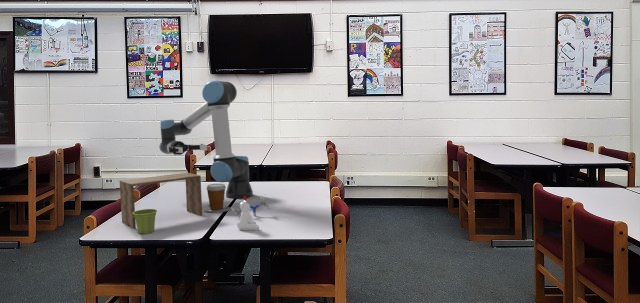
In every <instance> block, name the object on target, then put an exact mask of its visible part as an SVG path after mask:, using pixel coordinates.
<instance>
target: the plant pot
mask: <svg viewBox="0 0 640 303" xmlns="http://www.w3.org/2000/svg"><path fill="white" fill-rule="evenodd" d="M157 212H158V210H157V209H154V208H144V209H139V210H135V212H133V214H134V217H135V222H136V229H137V233H138V234H143V235H146V234H151V233H153V232H155V226H156V222H155V221H156V216H157V215H156V214H157Z"/></svg>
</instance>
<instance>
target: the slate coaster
mask: <svg viewBox="0 0 640 303" xmlns="http://www.w3.org/2000/svg"><path fill="white" fill-rule="evenodd" d="M231 208H232V206H227V205H224V206H223V209H221V210H211V209H210V206H208V207H205V208H202V213H203V212H204V213H209V214H210V213H211V214H214V213H215V214H217V213H224V212H229V211H232V210H231Z"/></svg>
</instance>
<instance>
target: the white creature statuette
mask: <svg viewBox="0 0 640 303" xmlns="http://www.w3.org/2000/svg"><path fill="white" fill-rule="evenodd" d="M249 205H251V204H250V203H248V200H247V201H245V200H244V199H243V201H241V202H240V203H239V209H241V210H242V211H241V212H240V214H241V216H240V219H239V218H238V221H237V223H236V226H237V228H238V230H240V231H260V226H259V225H258V224H257V222H256V221H255V220H254V219H252V214H251V210H252V208H250V206H249Z"/></svg>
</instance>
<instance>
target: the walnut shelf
mask: <svg viewBox="0 0 640 303" xmlns="http://www.w3.org/2000/svg"><path fill="white" fill-rule="evenodd" d="M201 179H202V177H201V175H199V174H195V173H192V172H191V173H190V172H183V173H174V174H163V175H157V176H147V177H139V178H132V179H130V178H129V179H123V180H119V192H120V193H119V194H120V210H121V223H122V222H123V223H122V224H124V223H125V224H124V225H126V224H127V225H126V226H128V225H129V226H128V227H130V228H132V229H137V224H136V219H135V217H134V214H133V212H135V211H136V207H135V190H134V187H136V186H146V185H152V184H161V183H168V182H177V181H178V182H179V181H185V195H186V196H185V197H186V212H188V213H192V214H194V215H197V216H200V217H202V216H203V204H202V203H203V200H202V199H203V198H202V180H201Z"/></svg>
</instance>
